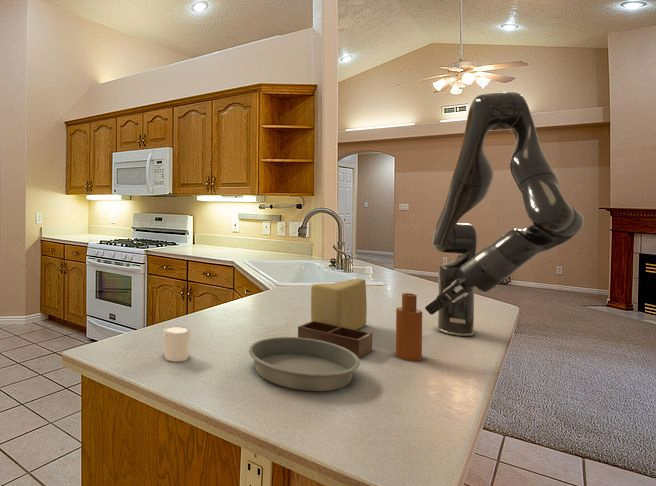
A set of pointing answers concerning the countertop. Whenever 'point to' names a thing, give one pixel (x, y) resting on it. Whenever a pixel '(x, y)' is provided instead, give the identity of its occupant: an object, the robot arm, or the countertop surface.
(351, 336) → the holder
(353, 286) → the cheese
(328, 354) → the cake pan
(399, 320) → the bottle
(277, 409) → the countertop surface
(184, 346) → the cream cylinder
